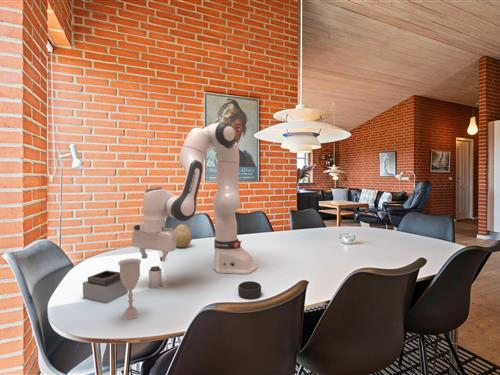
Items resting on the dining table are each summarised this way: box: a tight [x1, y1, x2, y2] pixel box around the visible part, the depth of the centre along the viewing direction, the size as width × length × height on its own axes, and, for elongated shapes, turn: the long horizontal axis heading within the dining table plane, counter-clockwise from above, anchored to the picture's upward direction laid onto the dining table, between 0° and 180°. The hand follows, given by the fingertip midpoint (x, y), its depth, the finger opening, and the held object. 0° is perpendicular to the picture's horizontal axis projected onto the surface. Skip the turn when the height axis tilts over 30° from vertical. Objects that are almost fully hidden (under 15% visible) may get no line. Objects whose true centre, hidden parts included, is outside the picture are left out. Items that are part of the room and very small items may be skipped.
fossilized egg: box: [173, 223, 193, 248], centre depth 183 cm, size 13×13×15 cm
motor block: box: [82, 270, 129, 304], centre depth 110 cm, size 16×10×8 cm, turn 69°
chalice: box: [117, 258, 142, 320], centre depth 93 cm, size 7×7×18 cm
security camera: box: [148, 265, 163, 290], centre depth 118 cm, size 5×5×8 cm
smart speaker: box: [237, 280, 262, 300], centre depth 109 cm, size 9×9×4 cm
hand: (153, 259), depth 117 cm, fingers open, 8 cm apart
